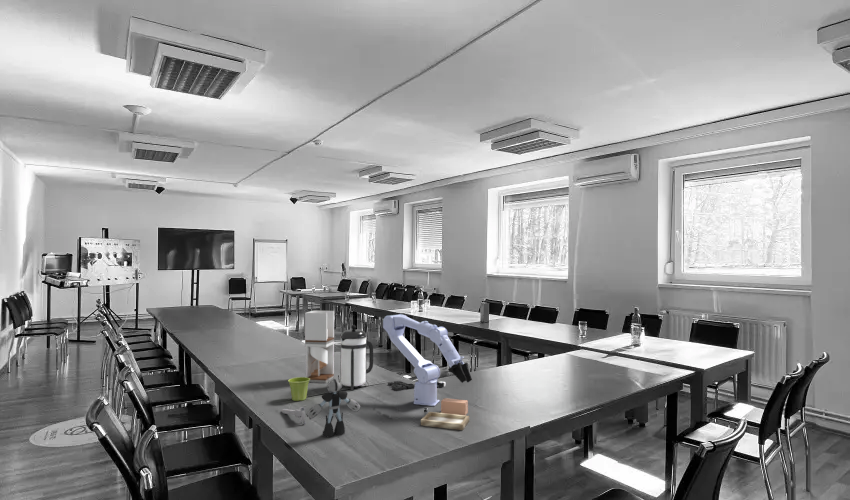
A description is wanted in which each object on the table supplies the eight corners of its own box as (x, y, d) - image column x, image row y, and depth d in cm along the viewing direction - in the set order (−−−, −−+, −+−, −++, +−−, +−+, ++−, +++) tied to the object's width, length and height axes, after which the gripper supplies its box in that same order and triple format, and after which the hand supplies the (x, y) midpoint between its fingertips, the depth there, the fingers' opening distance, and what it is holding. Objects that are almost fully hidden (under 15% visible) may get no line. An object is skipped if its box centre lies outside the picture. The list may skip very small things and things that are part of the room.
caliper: (305, 425, 172) (305, 408, 172) (302, 426, 171) (302, 408, 172) (283, 411, 188) (283, 395, 188) (280, 412, 187) (280, 396, 188)
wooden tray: (420, 425, 171) (420, 419, 171) (429, 416, 181) (429, 411, 181) (462, 430, 166) (462, 424, 166) (469, 421, 175) (469, 415, 176)
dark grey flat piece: (448, 389, 225) (448, 382, 226) (404, 394, 212) (405, 386, 212) (426, 381, 242) (426, 375, 242) (384, 386, 228) (384, 379, 229)
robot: (308, 441, 156) (308, 381, 156) (304, 437, 160) (304, 378, 160) (362, 431, 165) (362, 374, 166) (357, 426, 170) (357, 372, 170)
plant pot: (283, 401, 202) (283, 381, 202) (297, 395, 211) (297, 376, 211) (301, 403, 198) (301, 383, 199) (314, 397, 207) (314, 378, 207)
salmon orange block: (441, 413, 185) (441, 400, 186) (443, 410, 189) (443, 398, 189) (465, 416, 182) (465, 403, 182) (467, 412, 186) (467, 400, 186)
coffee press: (368, 390, 218) (368, 326, 219) (335, 390, 218) (335, 326, 219) (373, 381, 235) (373, 322, 236) (342, 381, 236) (342, 322, 236)
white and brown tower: (304, 381, 235) (305, 312, 236) (313, 376, 245) (313, 310, 246) (326, 382, 233) (326, 313, 234) (333, 377, 243) (334, 310, 244)
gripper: (451, 346, 185) (469, 375, 180) (462, 347, 198) (479, 375, 193) (437, 356, 187) (455, 385, 181) (449, 357, 200) (466, 385, 194)
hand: (467, 381), depth 187 cm, fingers open, 7 cm apart
